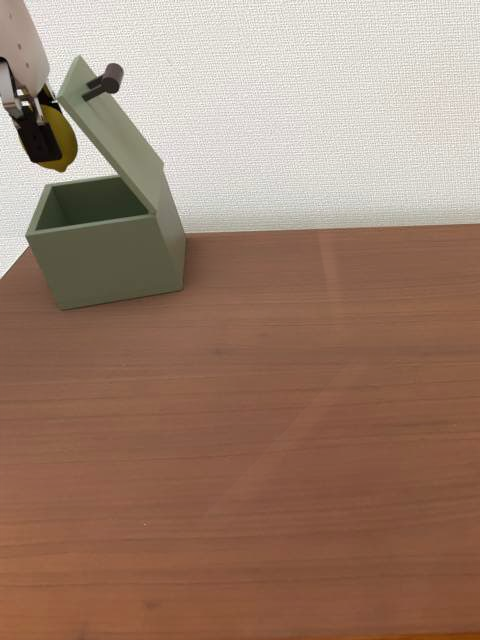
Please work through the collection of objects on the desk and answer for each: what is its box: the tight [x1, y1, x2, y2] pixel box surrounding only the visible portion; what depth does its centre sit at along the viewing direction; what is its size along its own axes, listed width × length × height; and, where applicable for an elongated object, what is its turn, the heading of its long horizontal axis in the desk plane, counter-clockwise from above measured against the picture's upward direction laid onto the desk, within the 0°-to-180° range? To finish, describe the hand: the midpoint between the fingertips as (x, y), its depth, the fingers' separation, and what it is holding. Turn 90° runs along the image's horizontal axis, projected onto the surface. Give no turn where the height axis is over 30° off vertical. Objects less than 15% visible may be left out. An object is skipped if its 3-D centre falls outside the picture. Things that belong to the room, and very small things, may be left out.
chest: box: [24, 169, 187, 311], centre depth 100 cm, size 14×14×10 cm
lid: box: [55, 54, 165, 214], centre depth 93 cm, size 15×14×5 cm
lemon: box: [17, 104, 79, 174], centre depth 92 cm, size 6×6×8 cm
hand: (51, 147), depth 92 cm, fingers closed on lemon, 5 cm apart
